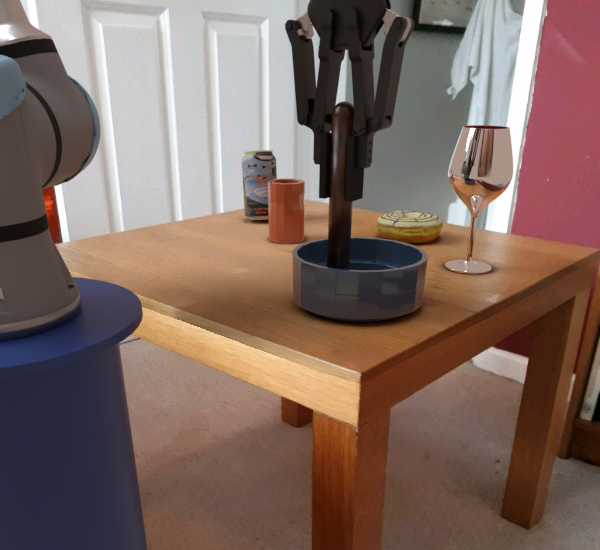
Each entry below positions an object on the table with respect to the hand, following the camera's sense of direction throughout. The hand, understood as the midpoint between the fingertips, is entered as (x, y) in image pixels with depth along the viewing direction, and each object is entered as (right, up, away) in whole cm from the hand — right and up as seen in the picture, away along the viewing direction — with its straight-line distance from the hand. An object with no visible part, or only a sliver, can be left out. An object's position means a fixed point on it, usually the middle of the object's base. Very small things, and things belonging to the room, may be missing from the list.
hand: (340, 197), depth 70 cm
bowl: (+2, -11, +5) cm, 12 cm away
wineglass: (+19, -4, +19) cm, 27 cm away
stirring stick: (0, -8, +4) cm, 9 cm away
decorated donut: (+13, +4, +34) cm, 37 cm away
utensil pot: (-7, +4, +32) cm, 33 cm away
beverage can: (-12, +10, +46) cm, 48 cm away
